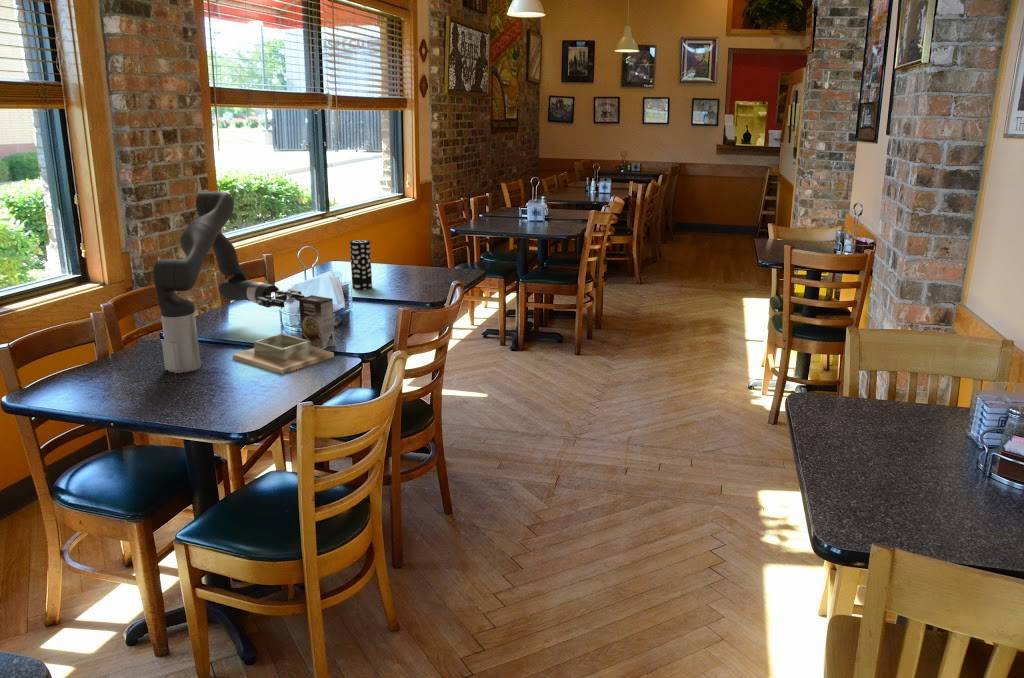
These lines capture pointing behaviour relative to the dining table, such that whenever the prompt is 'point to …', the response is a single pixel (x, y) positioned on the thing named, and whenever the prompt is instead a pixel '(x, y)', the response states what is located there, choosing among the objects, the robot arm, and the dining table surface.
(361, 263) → the white-spotted black cylinder
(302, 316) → the coffee box
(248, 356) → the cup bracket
